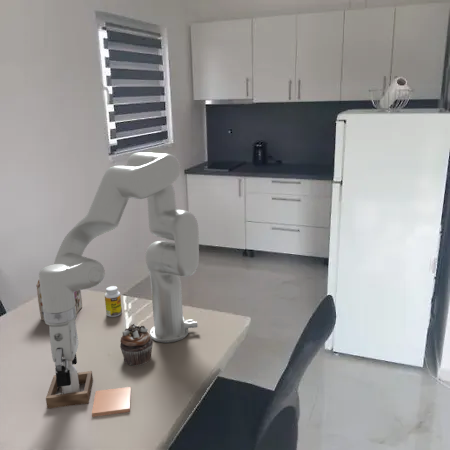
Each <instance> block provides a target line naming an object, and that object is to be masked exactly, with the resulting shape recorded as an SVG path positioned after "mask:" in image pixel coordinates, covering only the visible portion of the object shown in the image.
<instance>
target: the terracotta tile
mask: <svg viewBox="0 0 450 450" xmlns="http://www.w3.org/2000/svg"><path fill="white" fill-rule="evenodd" d="M131 398H132V386H125V387H118V388H117V387H116V388H109V389H100V390H95V393H94V399H93V403H92V404H93V405H92V409H91V417H92V418H94V417H103V416H110V415H116V414H124V413H130V412H131Z"/></svg>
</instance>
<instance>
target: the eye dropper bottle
mask: <svg viewBox="0 0 450 450" xmlns="http://www.w3.org/2000/svg"><path fill="white" fill-rule="evenodd" d="M62 359H66V358H65V357H62ZM62 366H64V367H65V362H62ZM68 370H70V378H71V385H69V386H61V387H60V388H61V394H66V393H74V392H81V390H80V389H81V388H80V384H79V380H78V373H79V372H78V370H77V367H76V366H75V364H72V361H68Z"/></svg>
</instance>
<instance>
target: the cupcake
mask: <svg viewBox="0 0 450 450" xmlns="http://www.w3.org/2000/svg"><path fill="white" fill-rule="evenodd" d="M148 331H149V328H148V327H145V325H141V326H138V325H137V324H135V323H133V324H131V325H129V327H128V328H125V329H124V330H122V335H121V337H120V346H119V347H120V350H121V351H120V352H121V353H122V357H123V360H124V362H125V364H127V365H129V366H142V365H145V364H147V363H148V362H149V361H150V360H151V359H152V353H153V352H152V350H153V345H154V340H153V339H152V338H151V337H150V332H148Z"/></svg>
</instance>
